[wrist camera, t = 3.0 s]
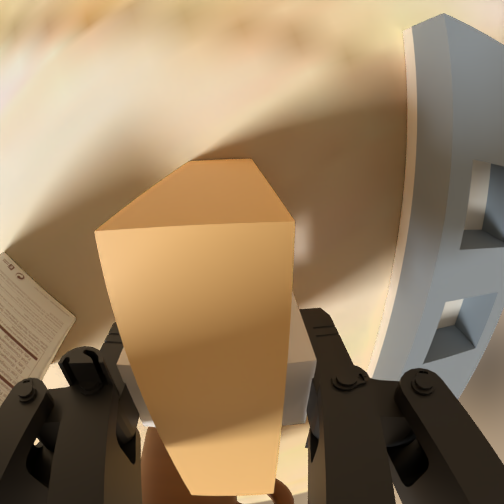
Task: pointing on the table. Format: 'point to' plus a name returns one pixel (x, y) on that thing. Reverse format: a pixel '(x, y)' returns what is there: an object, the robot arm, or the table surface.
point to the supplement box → (27, 327)
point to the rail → (447, 208)
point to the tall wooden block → (207, 318)
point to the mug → (172, 485)
